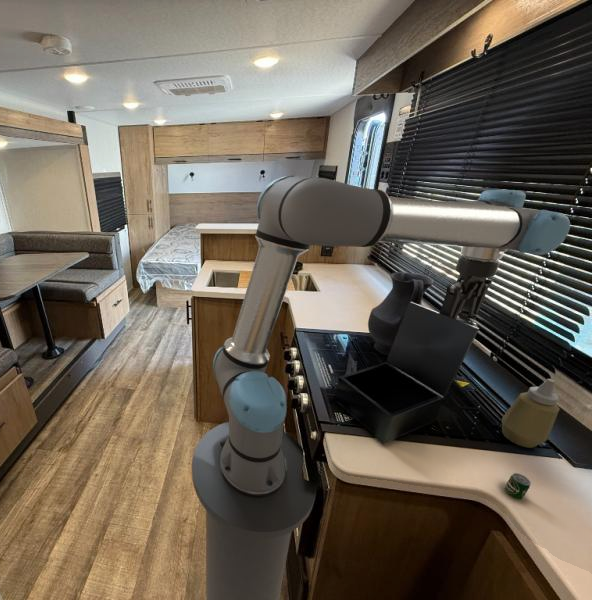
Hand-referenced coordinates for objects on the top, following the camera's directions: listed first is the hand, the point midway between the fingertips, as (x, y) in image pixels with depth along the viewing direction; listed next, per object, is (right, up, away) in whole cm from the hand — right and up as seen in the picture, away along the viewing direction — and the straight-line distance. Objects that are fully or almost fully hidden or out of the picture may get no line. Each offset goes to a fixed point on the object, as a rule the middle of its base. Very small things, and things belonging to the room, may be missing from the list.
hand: (448, 340), depth 83 cm
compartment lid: (-9, -1, -3) cm, 9 cm away
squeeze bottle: (+11, -24, -7) cm, 27 cm away
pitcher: (+2, -8, +28) cm, 29 cm away
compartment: (-18, -20, +2) cm, 27 cm away
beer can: (-3, -29, -20) cm, 36 cm away
